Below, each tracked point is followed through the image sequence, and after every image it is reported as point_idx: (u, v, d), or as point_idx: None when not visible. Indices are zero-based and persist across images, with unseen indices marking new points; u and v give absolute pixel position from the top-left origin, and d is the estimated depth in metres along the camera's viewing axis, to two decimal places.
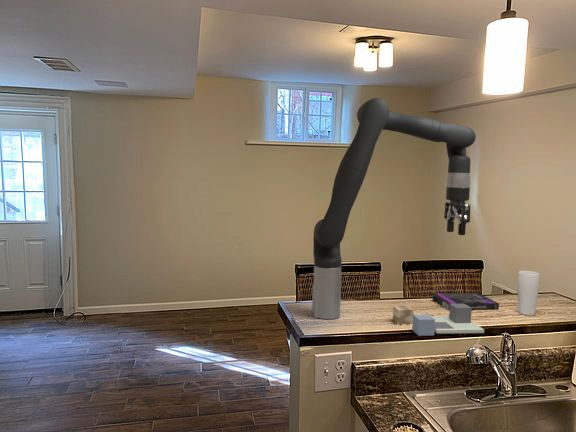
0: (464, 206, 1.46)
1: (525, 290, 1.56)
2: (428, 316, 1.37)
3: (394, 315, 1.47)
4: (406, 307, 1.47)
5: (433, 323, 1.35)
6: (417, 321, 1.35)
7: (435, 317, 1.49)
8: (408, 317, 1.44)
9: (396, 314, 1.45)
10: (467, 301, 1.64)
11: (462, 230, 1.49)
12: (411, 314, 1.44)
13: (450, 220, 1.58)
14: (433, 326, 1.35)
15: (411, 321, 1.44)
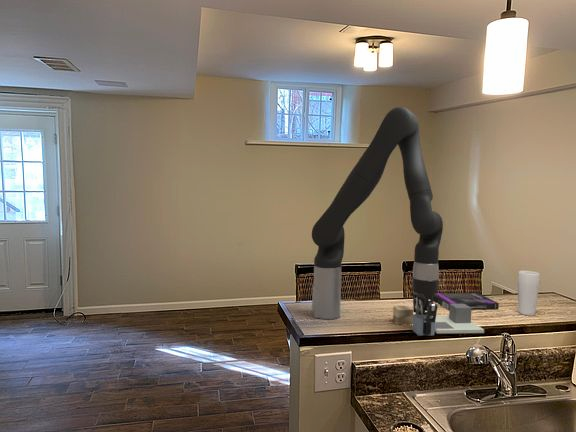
0: (430, 307, 1.30)
1: (525, 290, 1.56)
2: None
3: (394, 315, 1.47)
4: (406, 307, 1.47)
5: (433, 323, 1.35)
6: (417, 321, 1.35)
7: None
8: (408, 317, 1.44)
9: (396, 314, 1.45)
10: (467, 301, 1.64)
11: (427, 330, 1.33)
12: (411, 314, 1.44)
13: None
14: (433, 326, 1.35)
15: (411, 321, 1.44)
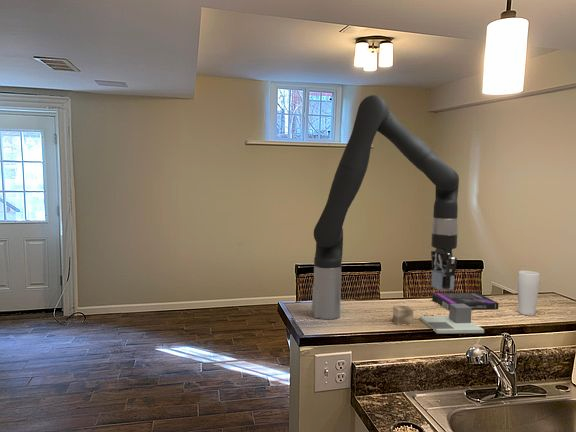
0: (450, 260, 1.33)
1: (525, 290, 1.56)
2: None
3: (394, 315, 1.47)
4: (406, 307, 1.47)
5: (452, 277, 1.38)
6: (436, 275, 1.38)
7: (435, 317, 1.49)
8: (408, 317, 1.44)
9: (396, 314, 1.45)
10: (467, 301, 1.64)
11: (446, 283, 1.36)
12: (411, 314, 1.44)
13: None
14: (452, 280, 1.38)
15: (411, 321, 1.44)
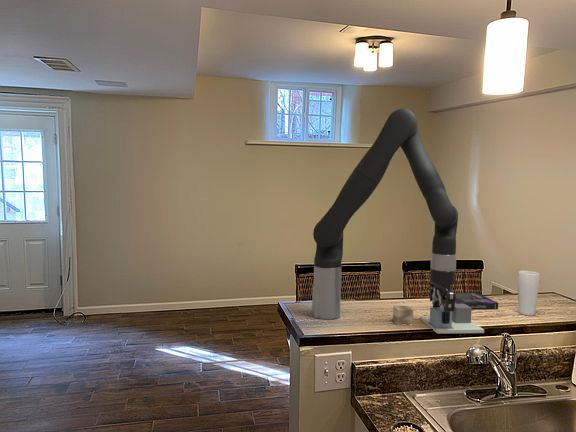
0: (449, 295, 1.33)
1: (525, 290, 1.56)
2: None
3: (394, 315, 1.47)
4: (406, 307, 1.47)
5: (450, 315, 1.39)
6: (435, 313, 1.39)
7: None
8: (408, 317, 1.44)
9: (396, 314, 1.45)
10: (467, 301, 1.65)
11: (446, 319, 1.36)
12: (411, 314, 1.44)
13: (436, 304, 1.44)
14: (450, 318, 1.39)
15: (411, 321, 1.44)
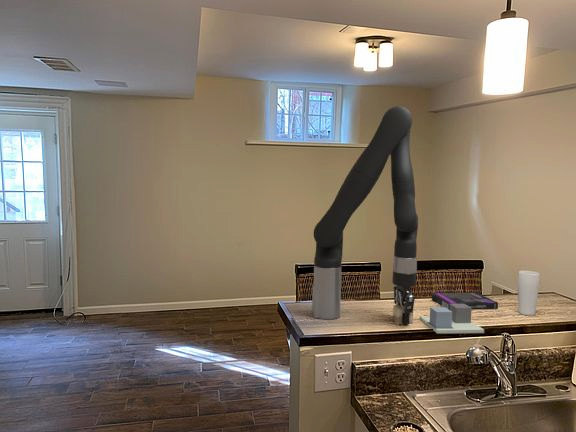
0: (408, 298, 1.39)
1: (525, 290, 1.56)
2: (446, 309, 1.41)
3: (394, 315, 1.47)
4: None
5: (450, 315, 1.39)
6: (435, 313, 1.39)
7: None
8: None
9: (396, 314, 1.45)
10: (466, 301, 1.65)
11: (406, 319, 1.43)
12: (411, 314, 1.44)
13: None
14: (450, 318, 1.39)
15: (411, 321, 1.44)
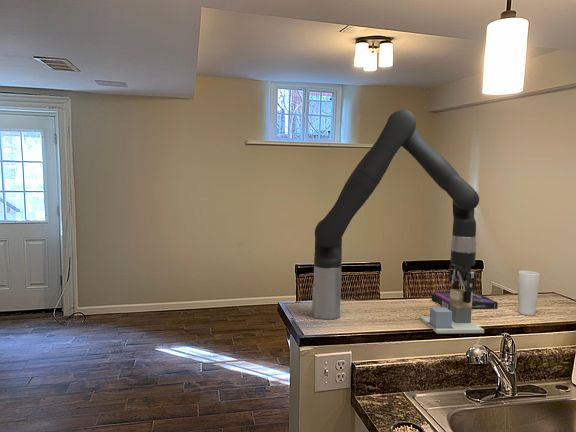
0: (470, 274, 1.38)
1: (525, 290, 1.56)
2: (446, 309, 1.41)
3: (452, 298, 1.46)
4: None
5: (450, 315, 1.39)
6: (435, 313, 1.39)
7: None
8: None
9: (455, 297, 1.44)
10: None
11: (467, 298, 1.41)
12: None
13: (455, 284, 1.49)
14: (450, 318, 1.39)
15: (470, 304, 1.44)
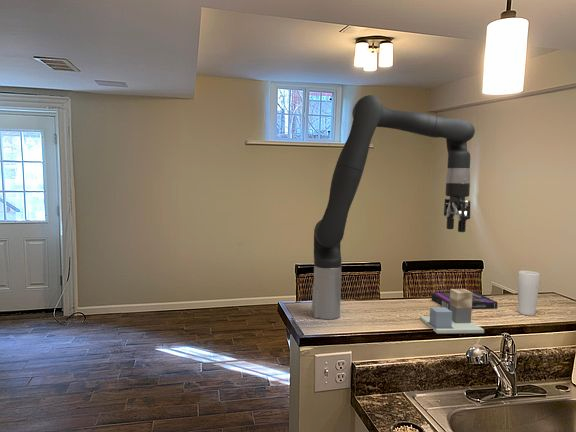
0: (464, 202, 1.42)
1: (525, 290, 1.56)
2: (446, 309, 1.41)
3: (452, 298, 1.46)
4: (464, 290, 1.46)
5: (450, 315, 1.39)
6: (435, 313, 1.39)
7: None
8: (467, 300, 1.43)
9: (455, 297, 1.44)
10: None
11: (462, 227, 1.45)
12: (470, 297, 1.43)
13: (450, 217, 1.54)
14: (450, 318, 1.39)
15: (470, 304, 1.44)
